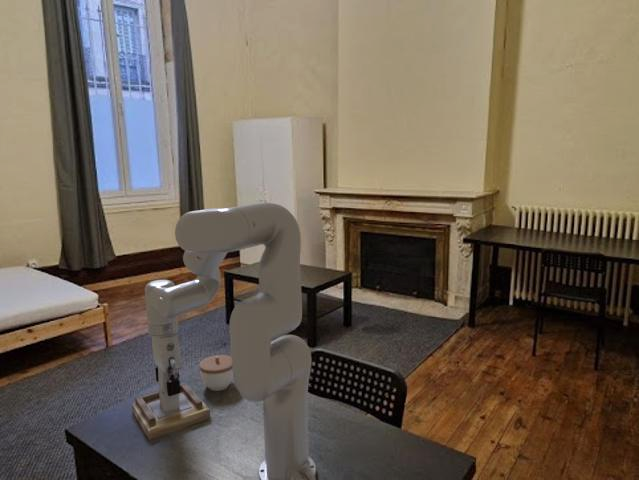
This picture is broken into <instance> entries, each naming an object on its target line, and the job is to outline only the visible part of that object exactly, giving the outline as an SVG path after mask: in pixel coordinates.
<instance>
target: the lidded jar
mask: <svg viewBox="0 0 639 480" xmlns="http://www.w3.org/2000/svg"><path fill="white" fill-rule="evenodd" d="M198 368H199V374H200V378H201V381H202V383H203V384H204V385H205V386H206V388H208V389H209V390H211V391H212V392H213V391H214V392H220V391H223V390H226V389H227V388H228V387H229V385H231V383H232V382H233V381H234V377H233V369H232V357H231V355H228V354H227V355H226V354H215V355H211V356H208V357H205V358H203V359H202V360H201V361H200V362H199V364H198Z"/></svg>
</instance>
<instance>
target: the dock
mask: <svg viewBox="0 0 639 480" xmlns="http://www.w3.org/2000/svg"><path fill="white" fill-rule="evenodd" d="M134 399H135V400H134V401H135V402H132V403H131V408H132V413H133V414H134V416H135V418H136V420H137V421H138V423H139V425H140V427H141V428H142V430H143V433H145V435H146V437H147V439H148V440H149V441H152V440H154V439H157V438H160V437H162V436H165V435H167V434H170V433H173V432H176V431H179V430H182V429H185V428H187V427H189V426H192V425H195V424H197V423H201V422H203V421H205V420H209V419H211V409H210V408H209V407H208V405H206V403H205V402H203V400H202V399H201V398H200V396H198V395H197V394H196V392H195V391H194V390H193V389H192V388H191V387H190V386H189V385H188V384H187V383H186V382H185V381H183V382H180V393H179V401H180V408H178V409H175V410H172V411H168V412H164V411H163V409H162V407H161V404H160V395H159V389H158V390H155V391H151V392H149V393H145V394H142V395H139V396H135V397H134Z"/></svg>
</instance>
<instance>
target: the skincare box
mask: <svg viewBox="0 0 639 480" xmlns="http://www.w3.org/2000/svg"><path fill="white" fill-rule="evenodd" d="M170 369H172V368H168V370H170ZM169 374H170V377H171V375H172V374H173V372H171V373H169ZM158 378H159V382H158V390H159V395H160V404H161V407H162V409H163V411H164V412H168V411H172V410H175V409H178V408H180V401H179V394H176V395H173V396H168V393H167V382H168V379H167V376H166V373H163V371H161V370H160V369H159V367H158Z"/></svg>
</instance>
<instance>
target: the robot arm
mask: <svg viewBox="0 0 639 480" xmlns="http://www.w3.org/2000/svg"><path fill="white" fill-rule="evenodd" d="M298 223H299V222H297V220H296V218H295V217H294V215H293V213H291V211H290V210H289V209H287V208H286V207H284V206H283V205H281V204H277V203H271V202H261V203H253V204H251V203H250V204H247V205H246V204H245V205H239V206H233V207H226V208H225V207H224V208H223V207H214V208H207V209H200V210H192V211H188V212H186V213H184V214H183V215H182V216H180V217H179V219H178V221H177V223H176V225H175V229H174V236H175V237H174V238H175V241H176V242H177V245H178V246H179V248H181V249H182V250H183V251H184V253H183V255H182V261H183V263H184V266H185V268H187V270H189V272H191V273H192V274H194V275H196V278H195V279H193V280H191V281H187V282H183V283H179V284H176V285H175V283H174V282H173V280H169V279H157V280H152V281H150V282H148V283H147V284H146V285H145V287H144V297H145V307H146V320H147V321H146V322H147V331H148V336H149V337H150V338H151V348H152V358H153V362H154V366H155V368H154V371H155V380H156V382H157V383H159V378H158V367H159V369H160V370H161V371H163V373H166V376H167V379H168V382H167V393H168V396H173V395H176V394H179V393H180V383H181V380H180V370H181V369H182V368H183V364H182V355H181V349H180V343H179V342H180V341H179V337H178V333H179V320H178V317H181V316H183V315H186V314H189V313H191V312H194V311H197V310H200V309H204V308H205V307H207V305H209V304H210V303H211V302H212V301H213V300H214V298H215V296H216V294H217V293H218V291H219V289H220V288H221V286H222V285H221V284H222V275H221V270H220V268H219V267H220V266H221V265H222V263H223V261H224V259H225V258H226V256H227V254H228V253H232V252H236V251H241V250H245V249H249V248H253V247H257V246H261V245H263V246H264V250H263V252H262V255H261V257H260V259H259V265H258V271H257V273H258V292H257V293H256V294H255V295H252V296H250V297H248V298H245V299H243V300H240V302H239V303H237V304H236V306H235V307H234V308H233V310H232V312H231V314H230V318H229V326H228V327H229V340H230V354H231V355H230V356H231V357H232V369H233V377H234V378H233V381H234V385H235V388H236V390H237V392H238V393H239V394H240V396H241V397H242V398H243V399H244V400H246V401H248V402H252V403H258V402H262V401H263V402H262V407H263V408H262V409H263V413H262V414H263V436H264V438H263V439H264V458H265V459H264V460H263V461H262V462H261V464H259V468H258V478H259V480H316V475H317V474H316V473H317V468H316V467H317V466H316V463H315V462H314V460H313V459H312V458H311V457H310V456H309V455H310V453H309V418H308V417H309V416H308V415H309V413H308V412H309V409H308V408H309V406H308V403H309V402H308V399H309V398H308V395H309V391H308V390H309V382H310V376H311V369H312V354H311V350H310V347H309V346H308V344H307V342H306V341H305V339H303V338H301V337H300V336H297V335H295V334H289V333H291V332H292V331H295V330H296V329H297V327H299V326H300V325H301V322H302V318H303V299H302V298H303V297H302V280H301V278H302V277H301V249H302V238H301V237H302V236H301V231H300V227H299V224H298ZM168 368H172V369H170V370H168ZM171 372H173V374H172V375H171V377H170V374H169V373H171Z"/></svg>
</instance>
